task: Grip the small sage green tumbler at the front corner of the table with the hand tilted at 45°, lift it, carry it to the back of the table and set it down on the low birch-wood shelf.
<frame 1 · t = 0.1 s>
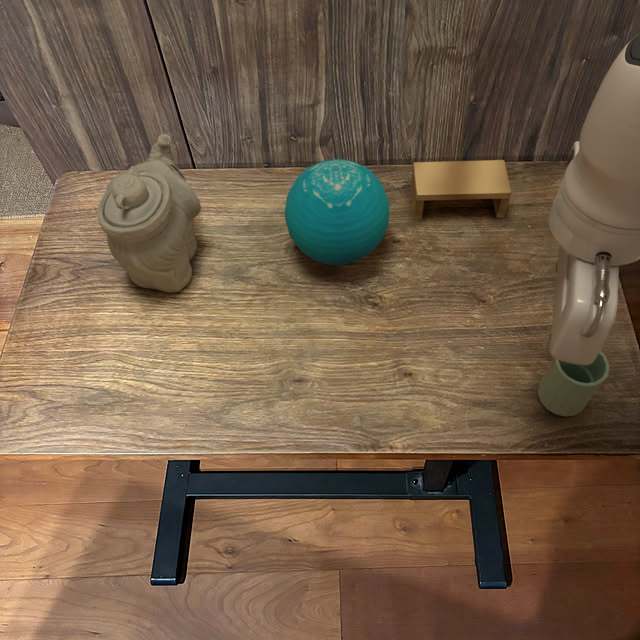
hand: (560, 306, 64), 20 cm above the table, tool pointing down, fingers open, 8 cm apart
sage green tumbler: (560, 396, 80), on the table
shelf: (456, 202, 100), on the table
teapot: (170, 252, 97), on the table
decorative orb: (337, 247, 96), on the table
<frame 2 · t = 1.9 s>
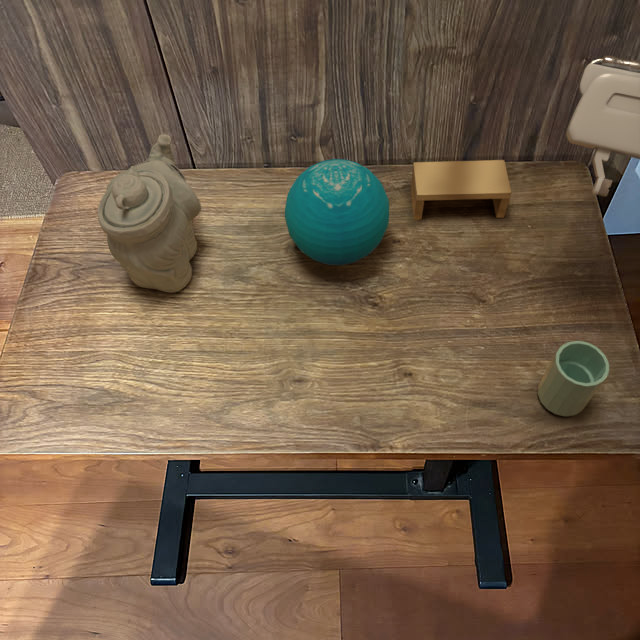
nothing on the table moved.
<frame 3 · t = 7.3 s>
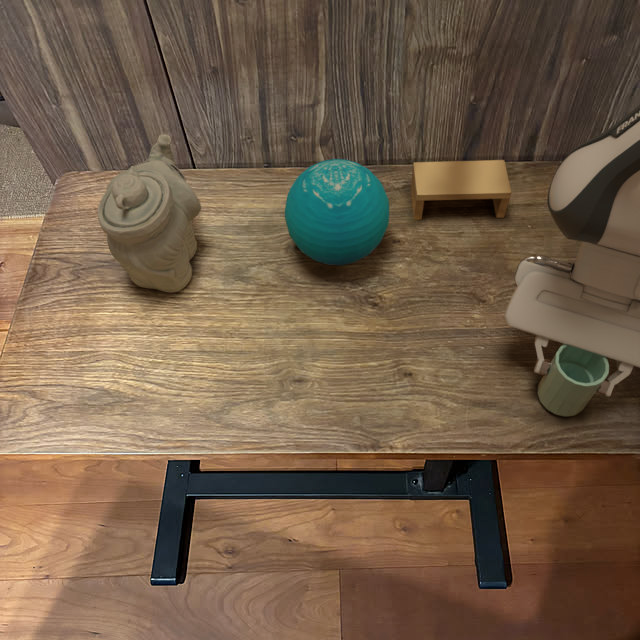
hand: (571, 383, 76), 5 cm above the table, tool tilted 45°, fingers closed on sage green tumbler, 6 cm apart
sage green tumbler: (560, 396, 80), on the table, touching gripper
everything else where it was.
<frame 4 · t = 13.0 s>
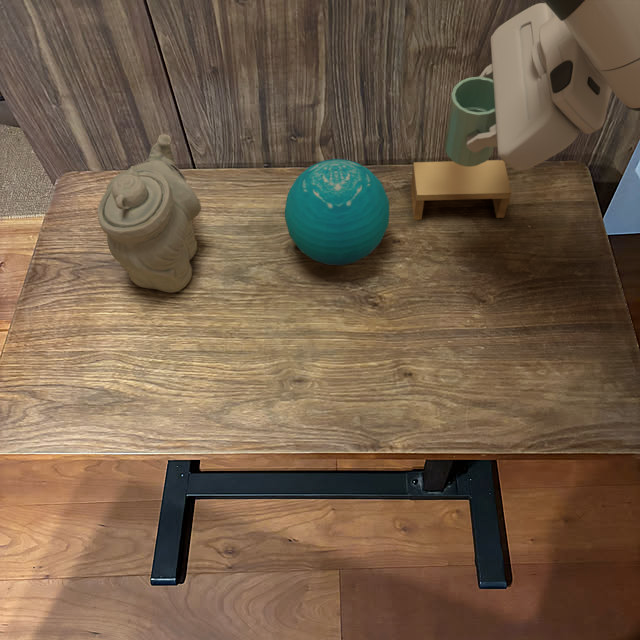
hand: (468, 122, 75), 24 cm above the table, tool tilted 45°, fingers closed on sage green tumbler, 6 cm apart
sage green tumbler: (468, 150, 79), point 19 cm above the table, tilted 6°, touching gripper
everything else where it was.
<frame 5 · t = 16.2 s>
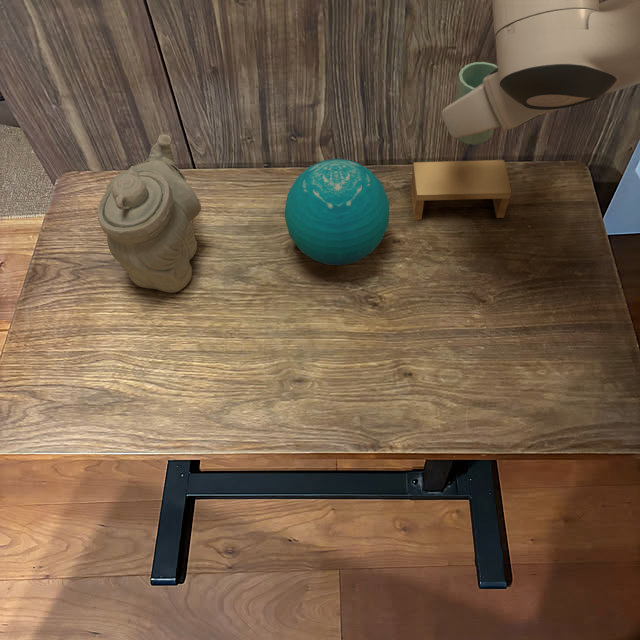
hand: (473, 101, 84), 19 cm above the table, tool tilted 45°, fingers closed on sage green tumbler, 6 cm apart
sage green tumbler: (471, 131, 88), point 14 cm above the table, touching gripper
everything else where it was.
when the fingers open (10 cm above the table, at t = 19.0 s): sage green tumbler stays where it is, resting on shelf.
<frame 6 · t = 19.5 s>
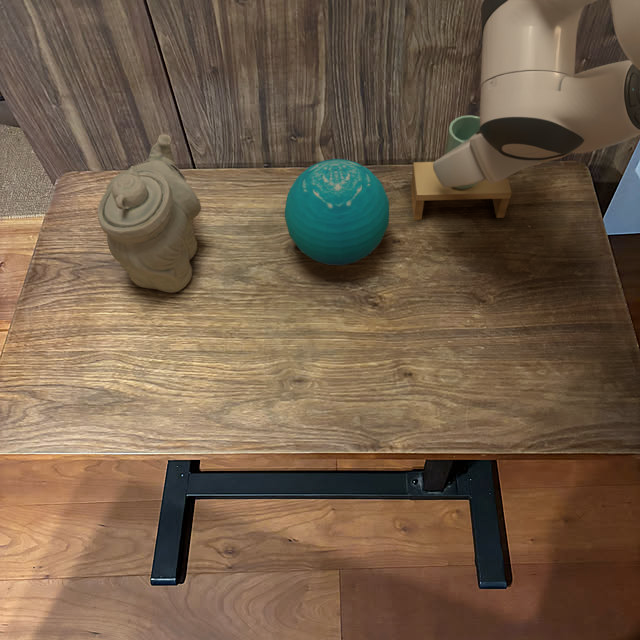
hand: (463, 148, 91), 11 cm above the table, tool tilted 45°, fingers open, 8 cm apart
sage green tumbler: (461, 176, 95), point 5 cm above the table, touching shelf
everything else where it was.
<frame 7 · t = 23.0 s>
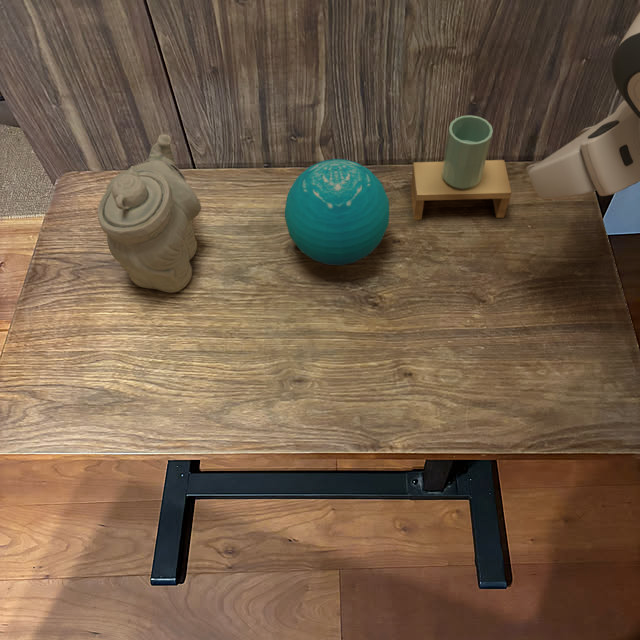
hand: (556, 154, 80), 17 cm above the table, tool tilted 45°, fingers open, 8 cm apart
nothing on the table moved.
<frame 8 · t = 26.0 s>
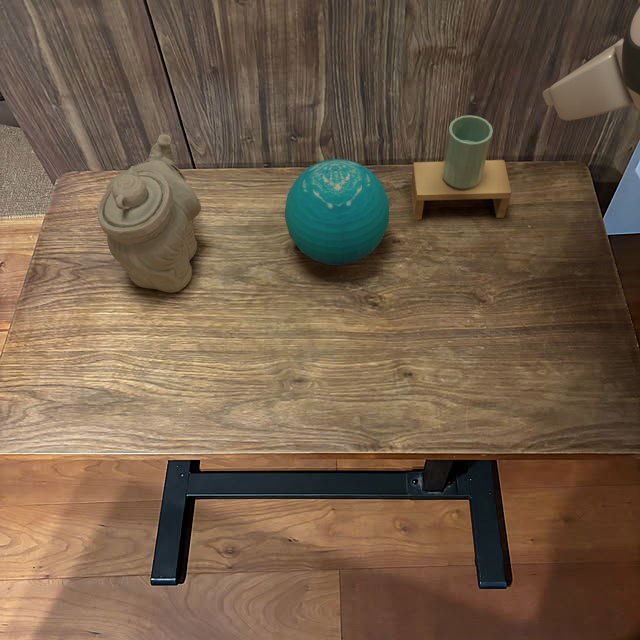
hand: (576, 78, 70), 29 cm above the table, tool tilted 45°, fingers open, 8 cm apart
nothing on the table moved.
at the end: sage green tumbler inside the target area on the shelf (0.1 cm from its centre), point 5.5 cm above the shelf's base; sage green tumbler tilted 0°; the gripper is holding nothing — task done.
